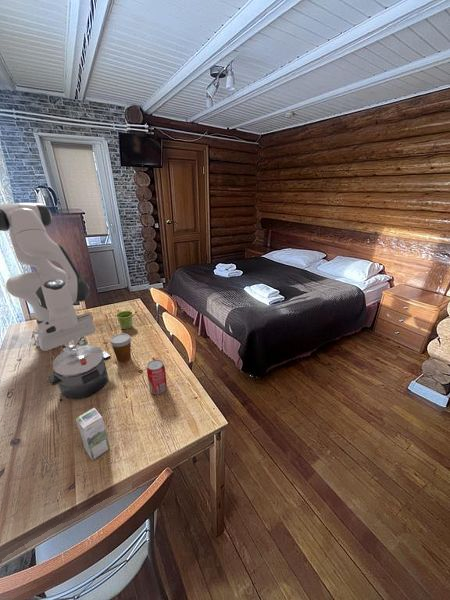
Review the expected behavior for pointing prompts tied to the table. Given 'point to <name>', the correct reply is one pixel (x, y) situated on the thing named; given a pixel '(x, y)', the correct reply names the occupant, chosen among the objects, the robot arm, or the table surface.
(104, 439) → the syrup box
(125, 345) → the disposable coffee cup
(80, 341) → the brown half-round piece
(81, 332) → the robot arm
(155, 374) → the soda can
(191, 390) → the table surface
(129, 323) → the plant pot
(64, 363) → the cooker lid
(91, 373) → the cooker pot
